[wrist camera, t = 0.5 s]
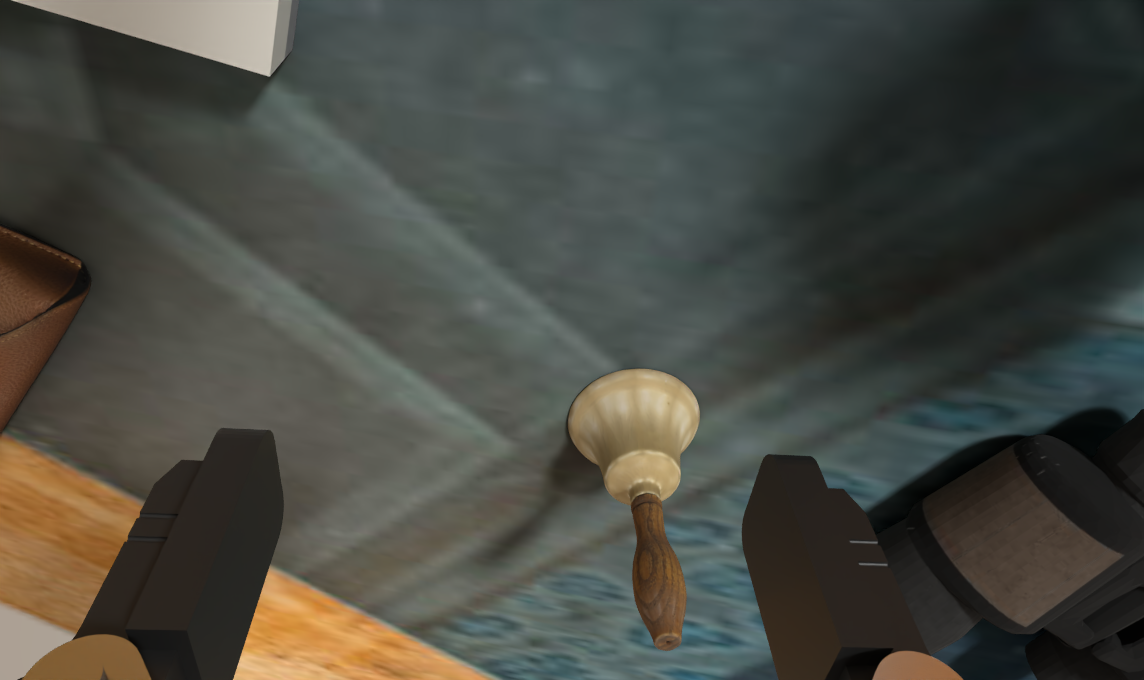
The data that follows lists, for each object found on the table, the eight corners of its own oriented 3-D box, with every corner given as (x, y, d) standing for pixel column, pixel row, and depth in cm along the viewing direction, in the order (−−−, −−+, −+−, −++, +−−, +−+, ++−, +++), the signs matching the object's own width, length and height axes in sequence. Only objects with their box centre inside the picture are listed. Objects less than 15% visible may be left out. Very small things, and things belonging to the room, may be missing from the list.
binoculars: (825, 527, 57) (875, 652, 49) (1072, 333, 48) (1184, 447, 40) (1056, 650, 68) (1129, 769, 60) (1294, 510, 59) (1418, 629, 50)
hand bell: (553, 457, 51) (564, 686, 38) (586, 356, 47) (611, 578, 34) (674, 475, 53) (724, 701, 40) (717, 379, 48) (789, 600, 35)
